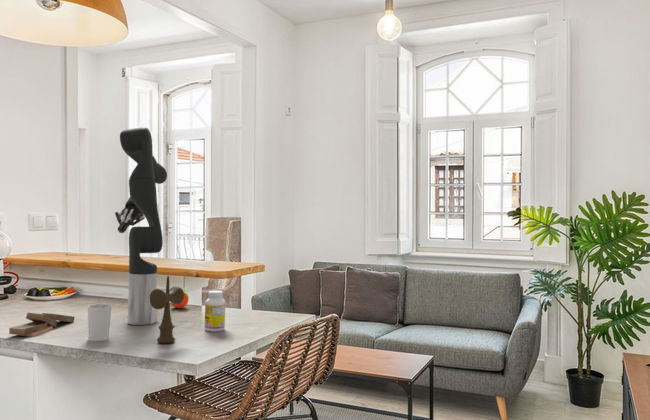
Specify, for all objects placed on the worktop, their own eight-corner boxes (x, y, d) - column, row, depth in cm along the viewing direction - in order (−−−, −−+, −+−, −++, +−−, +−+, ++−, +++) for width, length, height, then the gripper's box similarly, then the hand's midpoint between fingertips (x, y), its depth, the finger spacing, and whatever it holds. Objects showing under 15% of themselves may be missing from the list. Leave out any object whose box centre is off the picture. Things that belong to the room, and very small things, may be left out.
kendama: (147, 344, 160) (149, 276, 160) (168, 338, 169) (170, 273, 169) (163, 347, 158) (165, 278, 158) (184, 340, 167) (186, 275, 167)
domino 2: (42, 319, 180) (27, 312, 171) (57, 321, 180) (43, 314, 170) (41, 325, 179) (25, 318, 170) (55, 326, 179) (41, 320, 170)
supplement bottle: (202, 328, 184) (204, 290, 184) (222, 327, 186) (223, 289, 186) (205, 332, 178) (207, 293, 178) (226, 331, 180) (227, 292, 180)
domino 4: (61, 315, 188) (42, 313, 179) (74, 316, 187) (55, 314, 178) (60, 321, 188) (41, 318, 178) (73, 322, 187) (54, 319, 177)
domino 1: (33, 321, 174) (9, 327, 164) (47, 322, 173) (23, 329, 163) (33, 327, 174) (9, 333, 164) (47, 328, 173) (23, 335, 163)
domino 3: (37, 325, 176) (18, 332, 166) (52, 326, 176) (33, 333, 166) (37, 331, 176) (18, 338, 166) (52, 331, 176) (33, 339, 166)
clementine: (194, 308, 218) (194, 290, 218) (182, 310, 212) (183, 292, 212) (178, 306, 222) (178, 288, 222) (166, 308, 216) (167, 290, 216)
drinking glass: (93, 335, 169) (94, 303, 169) (114, 336, 169) (115, 304, 169) (82, 341, 162) (83, 307, 162) (104, 341, 162) (105, 308, 162)
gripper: (120, 193, 224) (101, 224, 212) (149, 194, 222) (132, 225, 210) (127, 206, 230) (109, 237, 218) (156, 207, 227) (139, 238, 215)
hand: (120, 231), depth 214 cm, fingers closed
